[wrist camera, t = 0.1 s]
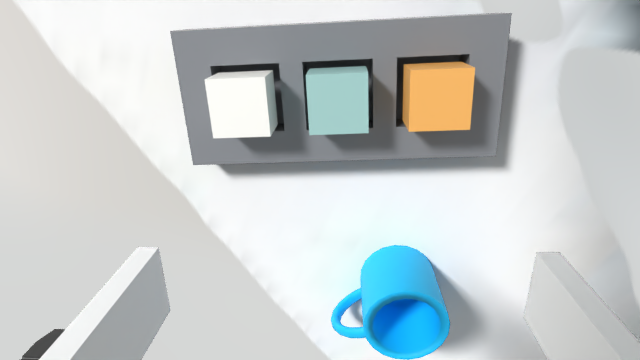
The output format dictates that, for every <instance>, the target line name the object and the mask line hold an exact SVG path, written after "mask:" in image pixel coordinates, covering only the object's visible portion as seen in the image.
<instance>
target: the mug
mask: <svg viewBox="0 0 640 360" xmlns="http://www.w3.org/2000/svg"><path fill="white" fill-rule="evenodd" d="M360 299H362V314H363V327H346V326H343V325H342V324H341V322H340V320H341V316H342V315H343V314H344V312H345V311H346V310H347V309H348V308H349V307H350V306H351V305H352V304H354V303H355V302H357V301H358V300H360ZM331 322H332V326H333V328H334V330H335V331H337V332H338V333H339V334H340V335H342V336H345V337H349V338H365V337H366V339H367V341H368V342H369V343H370V344H371V346H372V347H373V348H374V349H376V350H377V351H378V352H380V353H381V354H383V355H386V356H389V357H392V358H395V359H407V360H409V359H415V358H421V357H423V356H425V355H428V354H430V353H432V352H434V351H435V350H436V349H437V348H438V347H440V346H441V345H442V344H443V342H444V341H445V339H446V337H447V336H448V333H449V328H450V321H449V316H448V312H447V309H446V306H445V303H444V300H443V297H442V294H441V291H440V289H439V286H438V283H437V280H436V277H435V274H434V271H433V268H432V265H431V263H430V262H429V260H428V259H427V257H426V256H425V255H423V254H422V253H421V252H420V251H418V250H416V249H414V248H411V247H408V246H399V245H394V246H389V247H384V248H382V249H380V250H378V251H376V252H374V253H373V254H372V255H371V256H370V257H369V258H368V259H367V260H366V261H365V263H364V265H363V267H362V269H361V288H360V289H357V290H355V291H354V292H352V293H351V294H349V295H347V296H346V297H345V298H344V299H343V300H342V301H340V302H339V303H338V305H337V306H336V308H335V309H334V310H333V314H332V317H331Z"/></svg>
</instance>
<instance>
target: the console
mask: <svg viewBox="0 0 640 360" xmlns="http://www.w3.org/2000/svg"><path fill="white" fill-rule="evenodd" d="M511 15H512V14H511V13H487V14H468V15H450V16H431V17H412V18H393V19H374V20H355V21H336V22H318V23H299V24H280V25H261V26H242V27H223V28H204V29H185V30H177V31H170V33H171V39H172V45H173V50H174V56H175V62H176V68H177V74H178V79H179V85H180V91H181V97H182V103H183V108H184V114H185V120H186V126H187V131H188V137H189V143H190V149H191V155H192V160H193V165H210V164H244V163H277V162H311V161H345V160H379V159H412V158H446V157H480V156H496V151H497V142H498V133H499V124H500V115H501V106H502V96H503V87H504V78H505V69H506V60H507V51H508V42H509V33H510V24H511ZM442 62H464V63H466V64H468V65H470V66H473V67H475V76H474V88H473V100H472V112H471V124H470V130H447V131H417V132H409V131H408V129H407V127H406V126H405V124H404V122H403V120H402V119H403V74H404V64H420V63H442ZM354 66H366V68H367V71H368V118H369V133H359V134H329V135H309V121H308V104H307V88H306V74H307V72H308V71H309V69H310V68H332V67H354ZM266 70H273V76H274V87H275V98H276V110H277V121H278V125H277V127H276V128H275V130H274V132H273V133H272V135H271V136H270V137H241V138H213V133H212V127H211V120H210V113H209V107H208V100H207V93H206V87H205V79H207V78H209V77H211V76H213V75H215V74H217V73H222V72H244V71H266Z"/></svg>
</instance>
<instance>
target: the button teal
mask: <svg viewBox="0 0 640 360" xmlns="http://www.w3.org/2000/svg"><path fill="white" fill-rule="evenodd" d="M306 88H307V104H308V121H309V135H329V134H359V133H369V118H368V71H367V68H366V66H354V67H332V68H310V69H309V71H308V72H307V74H306Z"/></svg>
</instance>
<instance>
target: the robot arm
mask: <svg viewBox="0 0 640 360" xmlns="http://www.w3.org/2000/svg"><path fill="white" fill-rule="evenodd" d="M169 312H170V306H169V300H168V295H167V290H166V284H165V279H164V274H163V268H162V263H161V257H160V252H159V248H157V247H138V248H137V249H136V250H135V251H134V252H133V253H132V254H131V255H130V257H129V258H128V259H127V260H126V261H125V262H124V263H123V265H122V266H121V267H120V268H119V269H118V270H117V271H116V273H115V274H114V275H113V276H112V277H111V278H110V279H109V280H108V282H107V283H106V284H105V285H104V286H103V287H102V288H101V290H100V291H99V292H98V293H97V294H96V295H95V297H94V298H93V299H92V300H91V301H90V302H89V303H88V304H87V306H86V307H85V308H84V309H83V310H82V311H81V313H79V315H78V316H77V317H76V318H75V319H74V320H73V322H72V323H71V324H70V325H69V326H68V327H67V328H66V329H65V330H64V329H54V330H53V331H52V332H50V333H48V334H47V335H46V336H44V337H43V338H41V339H40V340H38V341H37V342H36V343H35V344H34V345H33V346H32V347H31V348H30V349H29V350H28V351H27V352H26V353H25V354H24V355H23V357H22V359H21V360H142V358H143V356H144V354H145V352H146V351H147V349H148V347H149V346H150V344H151V342H152V341H153V339H154V337H155V335H156V334H157V332H158V330H159V328H160V327H161V325H162V324H163V322H164V320H165V318H166V317H167V315H168V313H169ZM524 319H525V321H526V323H527V325H528V326H529V328H530V330H531V331H532V333H533V335H534V337H535V338H536V340H537V342H538V343H539V345H540V347H541V349H542V350H543V352H544V354H545V356H546V357H547V359H548V360H640V342H639V341H638V340H637V339H636V337H635V336H634V335H633V334H632V333H631V332H630V331H629V330H628V328H627V327H626V326H625V325H624V324H623V323H622V322H621V321H620V319H619V318H618V317H617V316H616V315H615V314H614V313H613V312H612V310H611V309H610V308H609V307H608V306H607V305H606V304H605V303H604V301H603V300H602V299H601V298H600V297H599V296H598V295H597V294H596V292H595V291H594V290H593V289H592V288H591V287H590V286H589V285H588V283H587V282H586V281H585V280H584V279H583V278H582V277H581V276H580V274H579V273H578V272H577V271H576V270H575V269H574V268H573V267H572V265H571V264H570V263H569V262H568V261H567V260H566V259H565V258H564V256H563V255H562V254H561V253H560V252H536V257H535V262H534V267H533V272H532V277H531V282H530V287H529V293H528V298H527V303H526V308H525V313H524Z"/></svg>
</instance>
